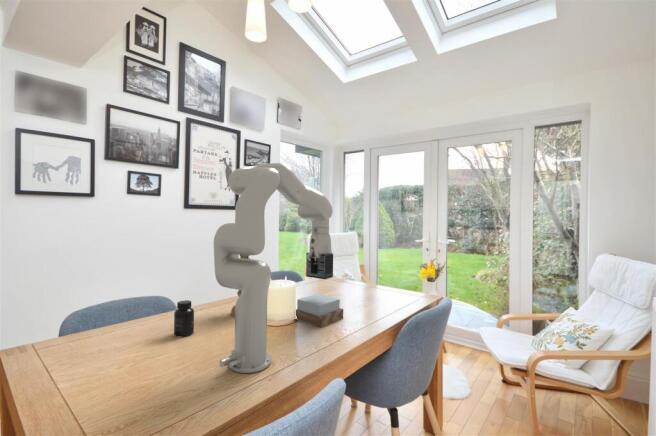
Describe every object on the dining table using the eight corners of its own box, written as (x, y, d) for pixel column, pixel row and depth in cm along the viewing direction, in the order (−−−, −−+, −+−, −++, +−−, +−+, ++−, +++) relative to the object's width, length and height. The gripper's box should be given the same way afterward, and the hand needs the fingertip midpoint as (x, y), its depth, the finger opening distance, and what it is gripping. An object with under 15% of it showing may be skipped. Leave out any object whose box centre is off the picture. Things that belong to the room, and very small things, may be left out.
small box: (333, 277, 135) (334, 253, 135) (325, 279, 130) (326, 254, 129) (314, 274, 141) (314, 251, 141) (305, 276, 135) (305, 252, 135)
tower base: (321, 328, 125) (321, 317, 125) (294, 320, 135) (294, 309, 134) (343, 319, 137) (343, 309, 137) (317, 311, 146) (317, 302, 146)
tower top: (319, 316, 126) (319, 305, 126) (297, 309, 135) (297, 299, 135) (339, 309, 136) (339, 299, 136) (317, 303, 145) (317, 293, 145)
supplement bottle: (197, 333, 117) (197, 302, 116) (178, 339, 112) (178, 305, 111) (189, 328, 121) (189, 298, 121) (170, 333, 116) (171, 301, 116)
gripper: (313, 232, 126) (313, 276, 126) (339, 230, 139) (338, 270, 140) (300, 231, 130) (299, 274, 131) (326, 229, 144) (325, 268, 144)
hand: (319, 271), depth 135 cm, fingers closed on small box, 6 cm apart
